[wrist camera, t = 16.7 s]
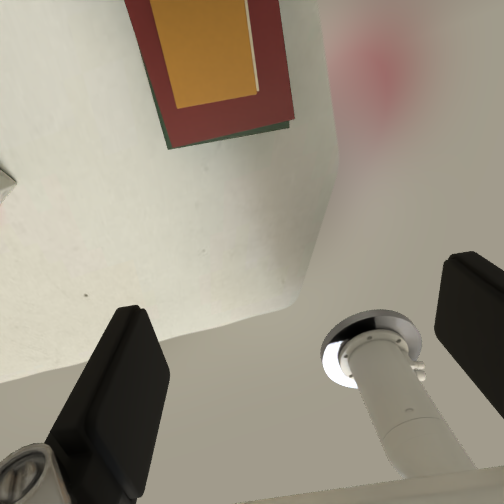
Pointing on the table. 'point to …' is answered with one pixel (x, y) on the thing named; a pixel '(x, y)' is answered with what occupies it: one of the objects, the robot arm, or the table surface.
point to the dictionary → (206, 49)
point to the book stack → (227, 111)
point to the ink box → (5, 185)
